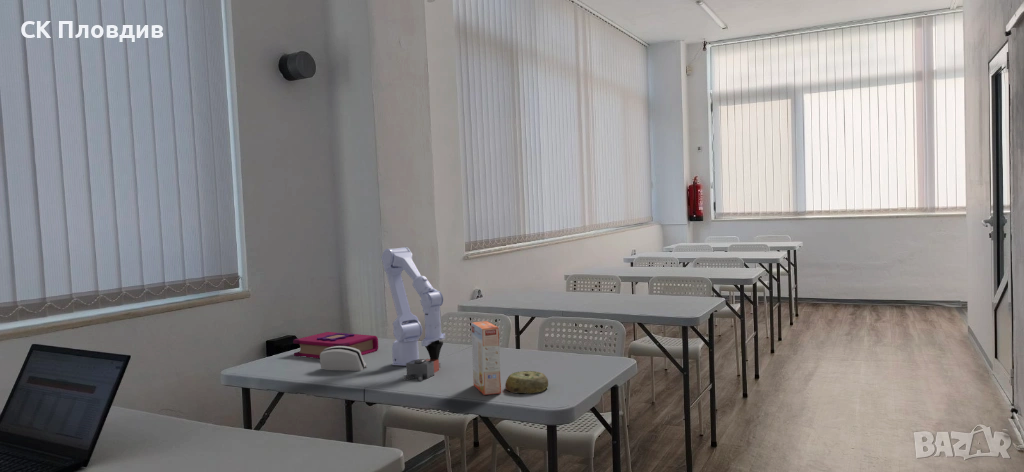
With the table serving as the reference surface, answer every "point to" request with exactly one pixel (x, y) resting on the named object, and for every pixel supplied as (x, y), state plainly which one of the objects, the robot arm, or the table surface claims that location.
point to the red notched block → (435, 364)
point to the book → (335, 343)
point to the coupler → (420, 369)
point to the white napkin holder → (342, 359)
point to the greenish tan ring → (526, 382)
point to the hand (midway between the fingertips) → (434, 362)
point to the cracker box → (486, 357)
